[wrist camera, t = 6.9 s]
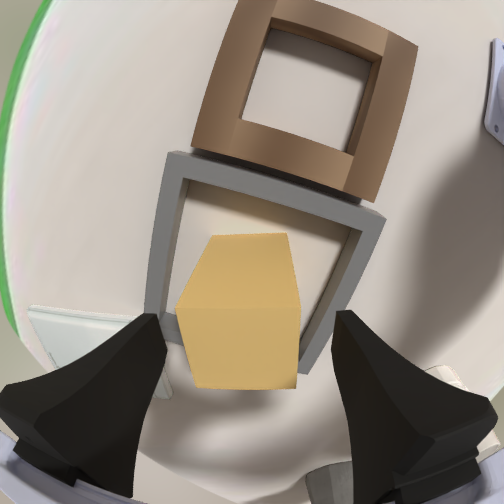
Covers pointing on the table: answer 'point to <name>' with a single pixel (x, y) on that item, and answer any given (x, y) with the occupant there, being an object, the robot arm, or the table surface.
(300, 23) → the socket block
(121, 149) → the table surface
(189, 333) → the peg
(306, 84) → the table surface
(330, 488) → the coffeepot
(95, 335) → the hard drive
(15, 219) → the table surface
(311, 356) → the gray square frame
